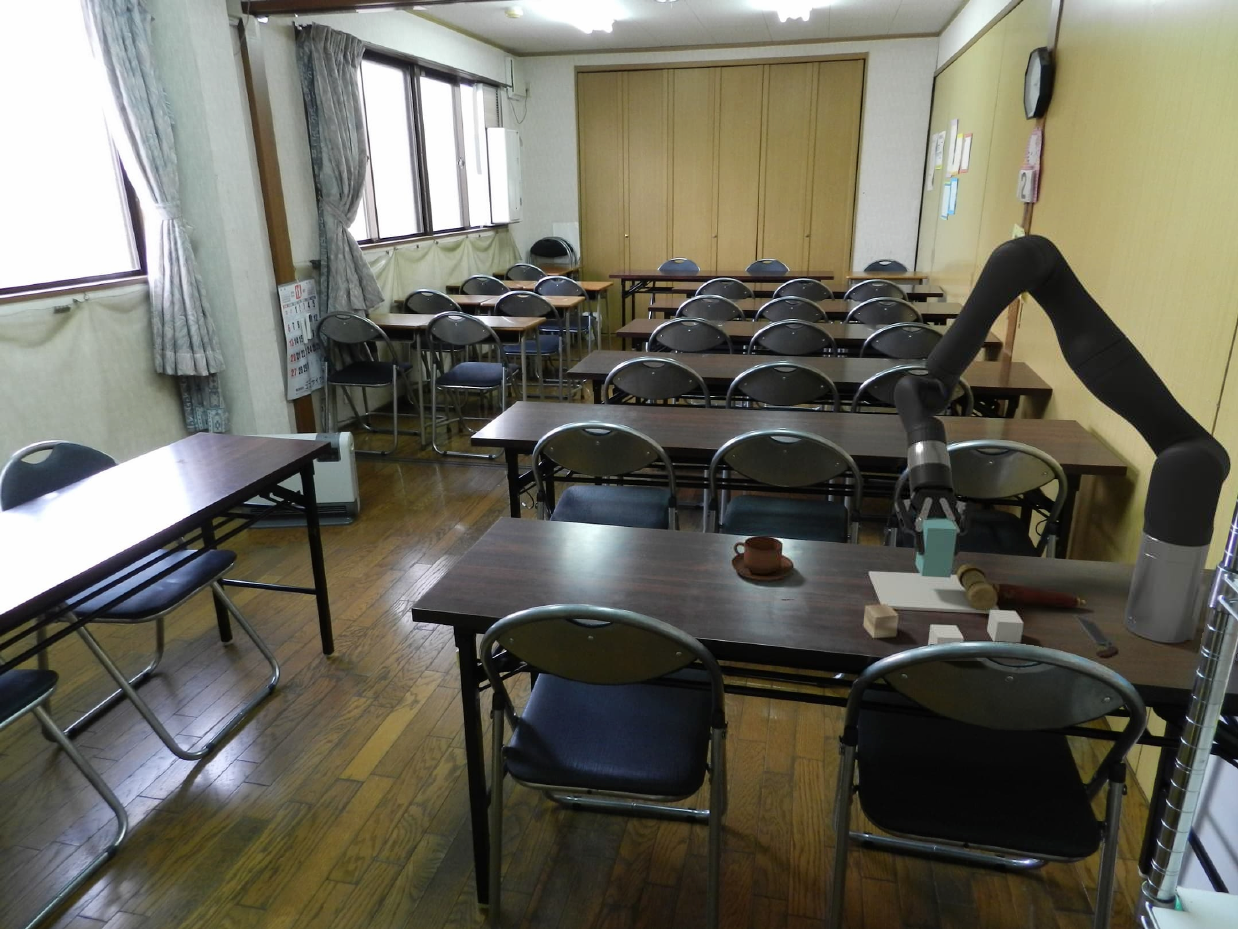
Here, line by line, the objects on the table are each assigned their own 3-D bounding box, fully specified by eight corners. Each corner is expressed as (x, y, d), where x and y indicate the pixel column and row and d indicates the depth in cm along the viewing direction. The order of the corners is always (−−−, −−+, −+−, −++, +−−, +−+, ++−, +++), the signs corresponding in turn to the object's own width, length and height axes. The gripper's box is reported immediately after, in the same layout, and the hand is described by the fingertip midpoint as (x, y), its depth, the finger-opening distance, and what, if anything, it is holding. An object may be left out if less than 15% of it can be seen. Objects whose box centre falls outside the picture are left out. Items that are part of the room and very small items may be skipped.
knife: (1124, 661, 127) (1125, 657, 126) (1097, 659, 127) (1098, 655, 127) (1089, 617, 140) (1090, 614, 140) (1065, 616, 140) (1065, 612, 140)
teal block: (943, 565, 149) (949, 518, 146) (950, 577, 144) (957, 529, 141) (915, 564, 150) (921, 517, 147) (921, 576, 145) (927, 528, 142)
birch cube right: (885, 624, 138) (887, 603, 136) (896, 636, 134) (898, 615, 133) (863, 626, 137) (865, 605, 136) (873, 638, 133) (875, 617, 132)
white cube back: (953, 647, 131) (956, 625, 129) (960, 660, 127) (963, 638, 126) (927, 646, 131) (930, 624, 130) (934, 659, 127) (937, 637, 126)
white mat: (975, 578, 154) (976, 575, 153) (999, 614, 140) (1000, 611, 140) (868, 574, 156) (869, 571, 156) (882, 608, 143) (883, 605, 143)
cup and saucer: (728, 582, 154) (729, 553, 152) (734, 556, 165) (735, 529, 163) (791, 588, 151) (793, 559, 149) (794, 562, 162) (795, 534, 160)
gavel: (1079, 579, 146) (1101, 605, 136) (1072, 601, 147) (1093, 628, 138) (959, 561, 148) (973, 585, 139) (954, 583, 150) (967, 608, 140)
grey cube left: (1011, 632, 135) (1015, 611, 134) (1019, 644, 131) (1023, 623, 130) (986, 630, 135) (990, 609, 134) (994, 643, 132) (997, 621, 130)
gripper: (894, 459, 149) (901, 545, 141) (975, 462, 147) (986, 549, 140) (886, 477, 156) (892, 560, 148) (963, 479, 154) (973, 563, 146)
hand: (938, 554), depth 144 cm, fingers closed on teal block, 5 cm apart
